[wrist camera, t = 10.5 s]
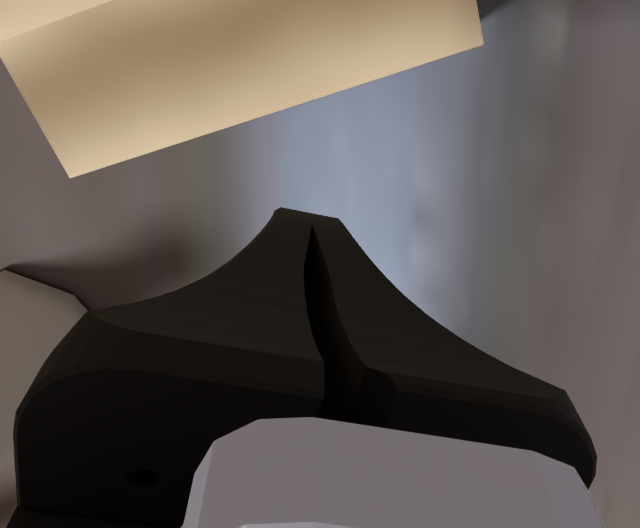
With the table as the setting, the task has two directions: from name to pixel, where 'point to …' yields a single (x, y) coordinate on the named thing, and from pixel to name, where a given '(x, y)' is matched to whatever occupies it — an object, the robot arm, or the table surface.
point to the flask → (27, 341)
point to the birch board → (205, 62)
